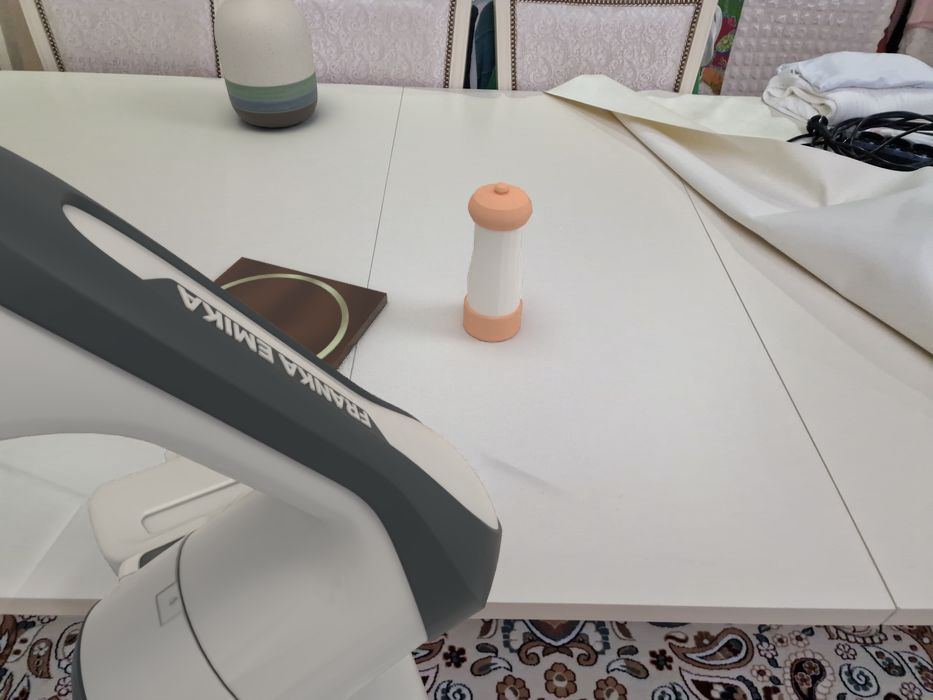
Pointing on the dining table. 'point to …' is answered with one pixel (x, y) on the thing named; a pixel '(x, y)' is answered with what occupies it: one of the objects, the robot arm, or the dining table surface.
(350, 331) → the brown flat square board
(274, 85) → the vase
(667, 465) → the dining table surface
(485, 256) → the pepper shaker
